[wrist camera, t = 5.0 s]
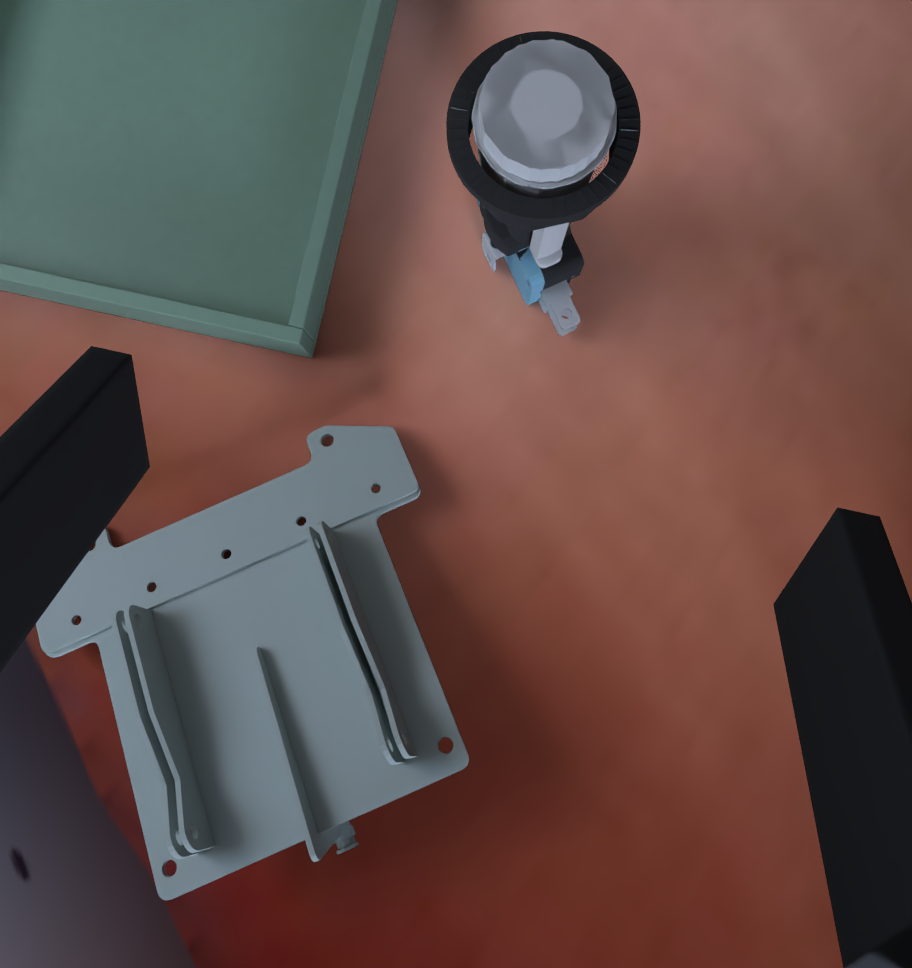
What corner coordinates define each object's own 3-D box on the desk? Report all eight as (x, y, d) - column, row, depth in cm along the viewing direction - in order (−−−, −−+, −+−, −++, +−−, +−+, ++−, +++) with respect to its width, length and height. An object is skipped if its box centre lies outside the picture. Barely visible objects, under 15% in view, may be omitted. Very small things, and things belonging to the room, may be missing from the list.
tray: (312, 358, 30) (299, 344, 28) (-84, 272, 31) (-128, 250, 28) (421, -100, 31) (418, -150, 29) (38, -176, 32) (4, -231, 29)
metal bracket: (536, 767, 23) (76, 972, 23) (541, 763, 29) (170, 928, 28) (371, 379, 28) (-8, 546, 28) (402, 439, 34) (86, 579, 33)
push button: (627, 308, 30) (705, 197, 20) (502, 365, 30) (518, 282, 20) (554, 157, 30) (595, -26, 20) (431, 213, 30) (412, 57, 20)
